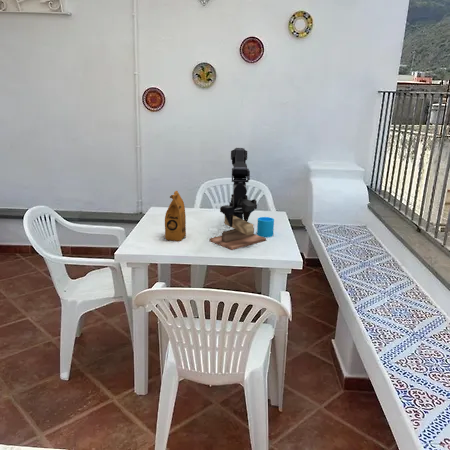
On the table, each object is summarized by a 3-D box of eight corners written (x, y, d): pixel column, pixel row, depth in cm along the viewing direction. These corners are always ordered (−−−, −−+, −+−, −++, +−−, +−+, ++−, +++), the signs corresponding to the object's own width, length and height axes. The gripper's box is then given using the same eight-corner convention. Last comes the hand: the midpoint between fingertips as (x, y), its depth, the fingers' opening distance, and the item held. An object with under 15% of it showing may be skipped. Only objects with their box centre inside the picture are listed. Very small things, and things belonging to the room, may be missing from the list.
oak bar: (253, 233, 202) (253, 224, 201) (246, 235, 201) (247, 225, 199) (230, 223, 219) (230, 214, 217) (224, 223, 217) (224, 215, 216)
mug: (272, 237, 217) (273, 221, 215) (255, 236, 219) (256, 220, 216) (274, 230, 228) (275, 215, 226) (258, 229, 230) (259, 214, 228)
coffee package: (161, 240, 209) (160, 195, 203) (168, 233, 221) (168, 189, 214) (182, 242, 207) (181, 196, 201) (188, 234, 219) (188, 190, 213)
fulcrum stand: (209, 240, 210) (209, 228, 209) (243, 232, 224) (243, 221, 222) (231, 249, 199) (232, 237, 197) (265, 240, 213) (266, 228, 211)
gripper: (236, 198, 193) (235, 232, 197) (266, 193, 205) (264, 225, 209) (219, 194, 201) (219, 226, 206) (249, 189, 213) (248, 220, 217)
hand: (238, 225), depth 209 cm, fingers open, 9 cm apart
